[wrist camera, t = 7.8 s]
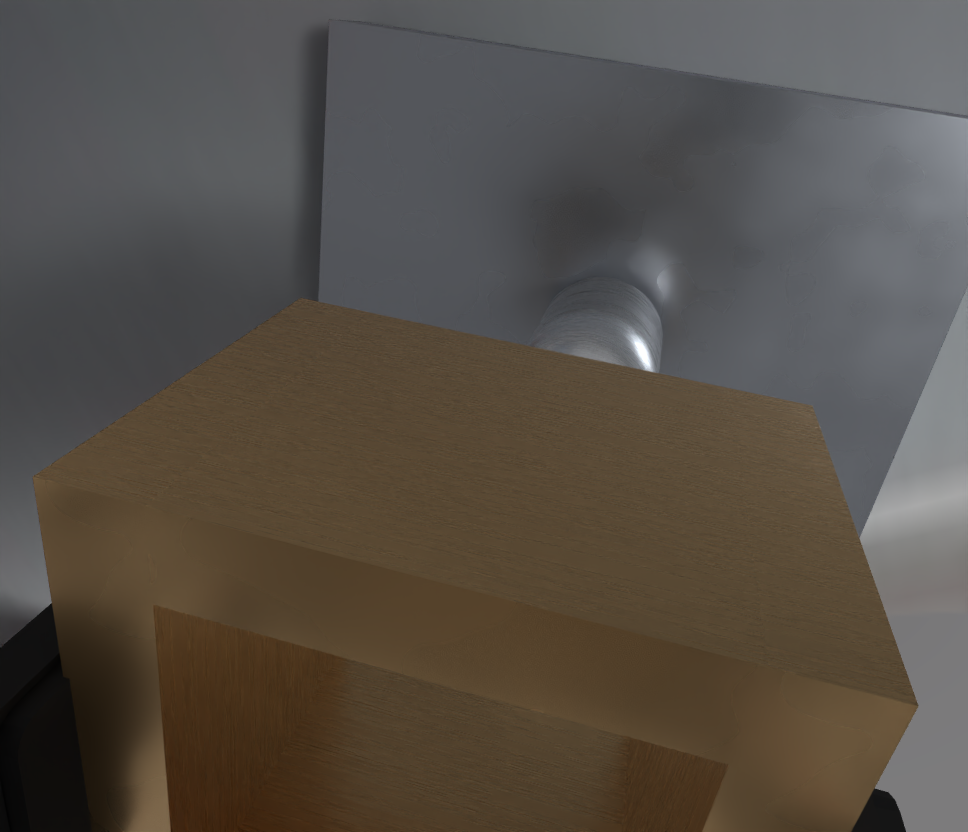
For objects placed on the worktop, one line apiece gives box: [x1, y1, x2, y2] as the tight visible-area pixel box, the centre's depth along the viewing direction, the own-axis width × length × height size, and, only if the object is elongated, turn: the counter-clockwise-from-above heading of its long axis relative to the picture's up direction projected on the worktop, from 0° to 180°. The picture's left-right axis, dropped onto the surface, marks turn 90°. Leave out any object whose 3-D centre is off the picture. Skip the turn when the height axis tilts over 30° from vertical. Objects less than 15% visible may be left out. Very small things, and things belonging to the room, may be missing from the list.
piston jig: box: [318, 19, 968, 538], centre depth 19 cm, size 16×13×8 cm
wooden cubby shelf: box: [33, 298, 918, 832], centre depth 10 cm, size 7×7×5 cm
